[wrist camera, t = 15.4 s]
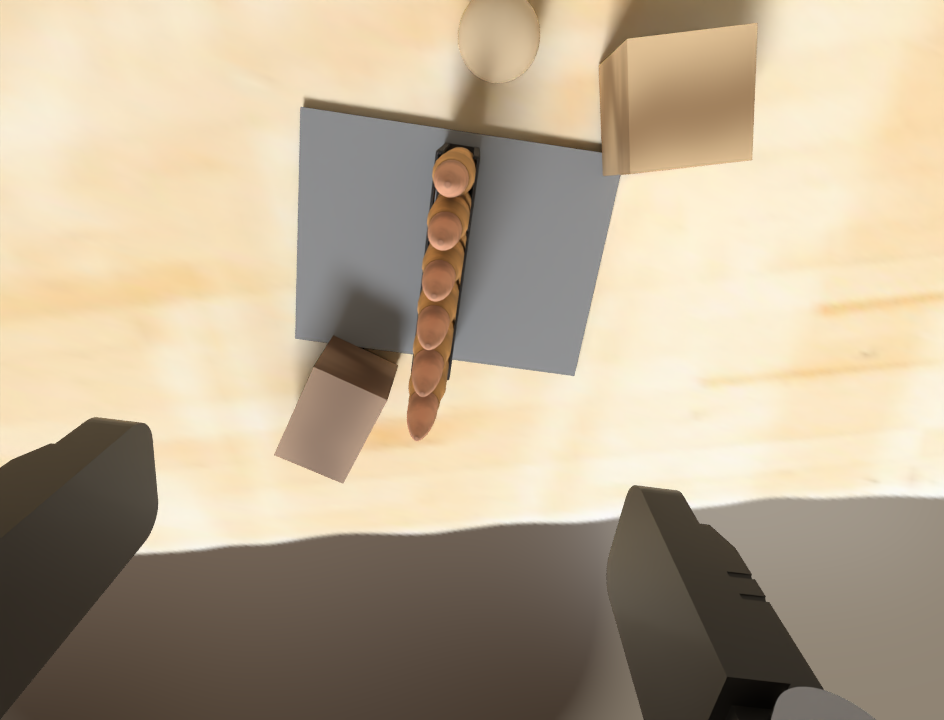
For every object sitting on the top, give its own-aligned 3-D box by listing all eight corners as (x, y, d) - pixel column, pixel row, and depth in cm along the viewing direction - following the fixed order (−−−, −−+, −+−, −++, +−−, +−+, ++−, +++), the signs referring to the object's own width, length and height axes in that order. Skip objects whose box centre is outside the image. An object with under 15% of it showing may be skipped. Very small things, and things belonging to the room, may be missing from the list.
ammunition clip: (443, 142, 27) (420, 145, 16) (480, 147, 27) (483, 155, 16) (420, 343, 31) (388, 458, 20) (452, 348, 31) (439, 464, 20)
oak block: (598, 65, 26) (627, 38, 21) (704, 52, 26) (757, 22, 21) (602, 176, 28) (630, 173, 23) (703, 164, 28) (752, 160, 23)
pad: (303, 107, 27) (300, 106, 27) (622, 156, 28) (624, 156, 27) (297, 335, 32) (295, 338, 31) (573, 373, 32) (574, 376, 32)
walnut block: (296, 416, 33) (274, 454, 30) (333, 335, 31) (313, 366, 27) (357, 442, 34) (343, 483, 31) (398, 365, 32) (387, 400, 28)
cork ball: (464, -7, 25) (462, -29, 22) (542, 5, 25) (551, -15, 22) (454, 80, 27) (451, 72, 23) (528, 91, 27) (535, 85, 23)
